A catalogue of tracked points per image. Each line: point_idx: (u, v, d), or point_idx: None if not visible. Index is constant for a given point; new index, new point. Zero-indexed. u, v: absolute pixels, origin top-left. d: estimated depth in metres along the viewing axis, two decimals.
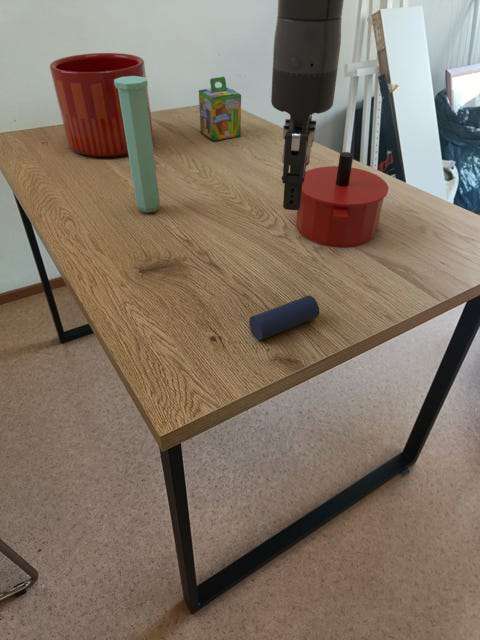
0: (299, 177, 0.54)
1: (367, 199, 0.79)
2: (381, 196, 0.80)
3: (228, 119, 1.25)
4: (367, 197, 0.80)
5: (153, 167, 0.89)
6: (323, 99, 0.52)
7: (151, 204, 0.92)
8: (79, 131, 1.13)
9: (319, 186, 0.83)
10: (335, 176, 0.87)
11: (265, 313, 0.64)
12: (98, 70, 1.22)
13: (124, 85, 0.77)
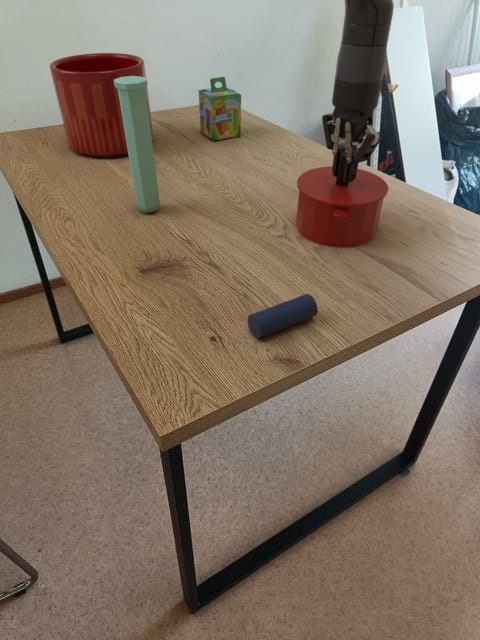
0: (367, 155, 0.78)
1: (367, 199, 0.79)
2: (381, 196, 0.80)
3: (228, 119, 1.25)
4: (367, 197, 0.80)
5: (153, 167, 0.89)
6: (378, 97, 0.74)
7: (151, 204, 0.92)
8: (79, 131, 1.13)
9: (319, 186, 0.83)
10: None
11: (262, 311, 0.65)
12: (98, 70, 1.22)
13: (124, 85, 0.77)
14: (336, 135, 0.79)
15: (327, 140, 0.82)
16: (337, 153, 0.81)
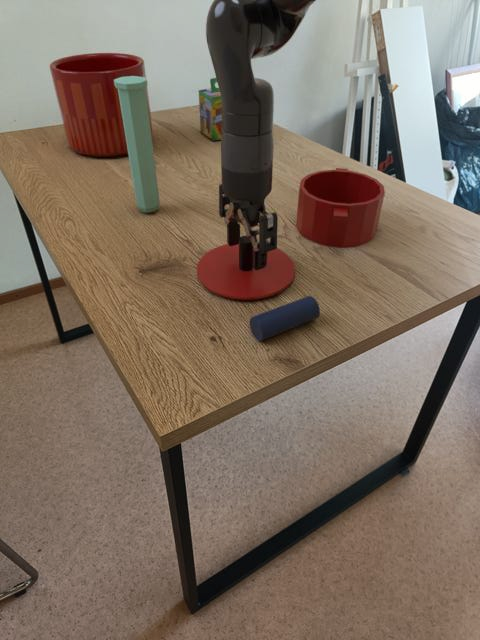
0: (274, 245, 0.68)
1: (267, 290, 0.72)
2: (283, 285, 0.73)
3: None
4: (267, 287, 0.73)
5: (153, 167, 0.89)
6: (271, 183, 0.66)
7: (151, 204, 0.92)
8: (79, 131, 1.13)
9: (219, 271, 0.76)
10: None
11: (266, 314, 0.64)
12: (98, 70, 1.22)
13: (124, 85, 0.77)
14: (229, 213, 0.72)
15: (220, 208, 0.76)
16: (228, 223, 0.75)
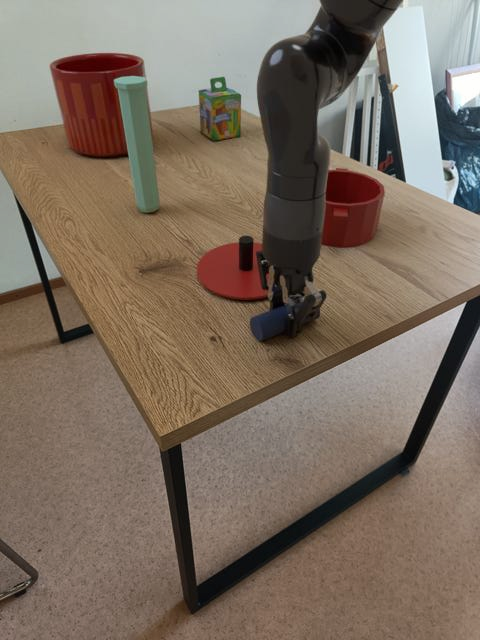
0: (312, 314, 0.61)
1: None
2: None
3: (228, 119, 1.25)
4: None
5: (153, 167, 0.89)
6: (320, 248, 0.57)
7: (151, 204, 0.92)
8: (79, 131, 1.13)
9: (219, 271, 0.76)
10: None
11: (266, 314, 0.64)
12: (98, 70, 1.22)
13: (124, 85, 0.77)
14: (270, 282, 0.63)
15: (261, 280, 0.66)
16: (273, 298, 0.65)
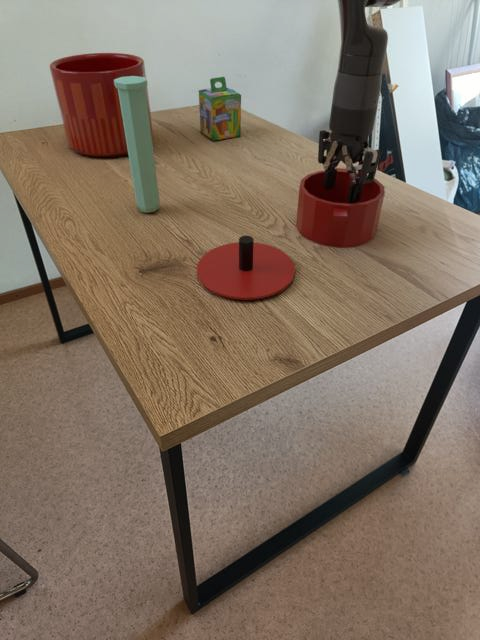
0: (372, 178, 0.78)
1: (267, 290, 0.72)
2: (283, 285, 0.73)
3: (228, 119, 1.25)
4: (267, 287, 0.73)
5: (153, 167, 0.89)
6: (374, 122, 0.76)
7: (151, 204, 0.92)
8: (79, 131, 1.13)
9: (219, 271, 0.76)
10: None
11: None
12: (98, 70, 1.22)
13: (124, 85, 0.77)
14: (330, 154, 0.82)
15: (319, 154, 0.85)
16: (328, 167, 0.85)
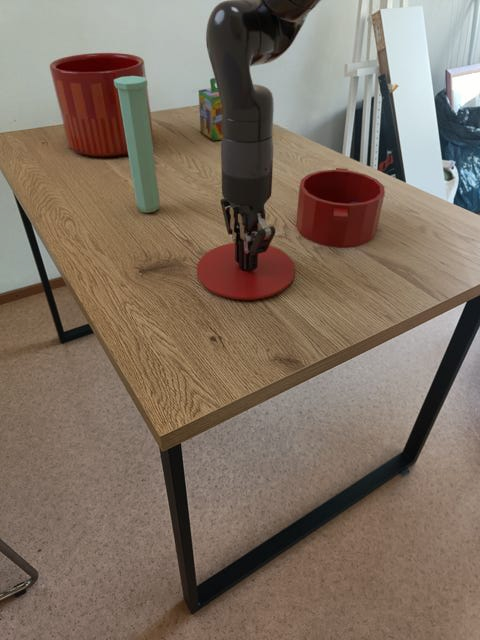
0: (264, 247, 0.71)
1: (267, 290, 0.72)
2: (283, 285, 0.73)
3: None
4: (267, 287, 0.73)
5: (153, 167, 0.89)
6: (270, 189, 0.67)
7: (151, 204, 0.92)
8: (79, 131, 1.13)
9: (219, 271, 0.76)
10: None
11: None
12: (98, 70, 1.22)
13: (124, 85, 0.77)
14: (232, 223, 0.72)
15: (227, 225, 0.76)
16: (237, 240, 0.75)
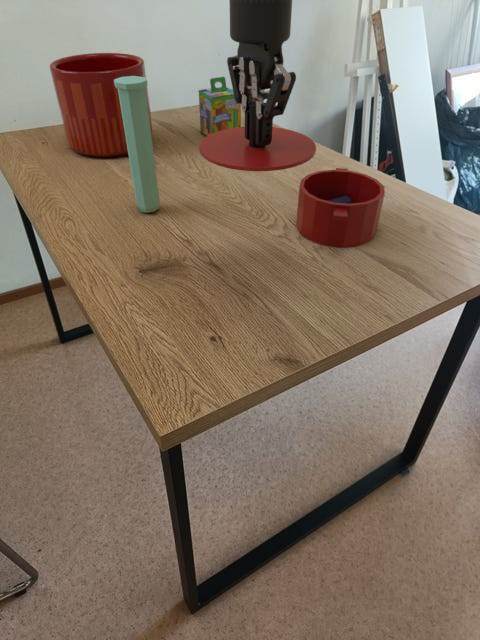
0: (281, 107, 0.59)
1: (284, 162, 0.60)
2: (303, 158, 0.61)
3: (228, 119, 1.25)
4: (285, 159, 0.61)
5: (153, 167, 0.89)
6: (290, 25, 0.55)
7: (151, 204, 0.92)
8: (79, 131, 1.13)
9: (226, 148, 0.64)
10: None
11: None
12: (98, 70, 1.22)
13: (124, 85, 0.77)
14: (242, 82, 0.60)
15: (235, 91, 0.63)
16: (247, 107, 0.62)
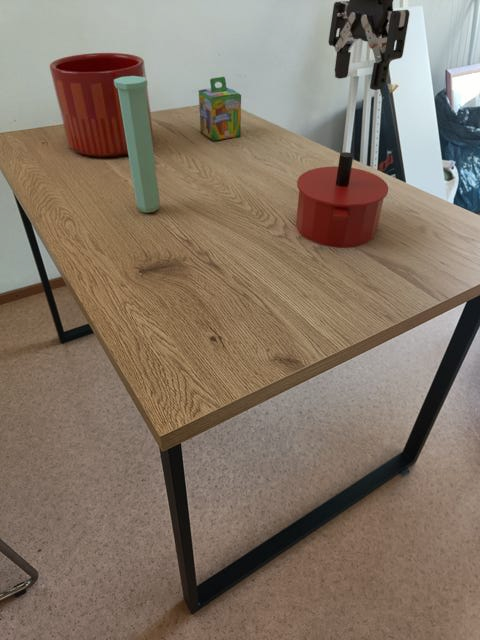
0: (401, 51, 0.65)
1: (367, 199, 0.79)
2: (381, 196, 0.80)
3: (228, 119, 1.25)
4: (367, 197, 0.80)
5: (153, 167, 0.89)
6: None
7: (151, 204, 0.92)
8: (79, 131, 1.13)
9: (319, 186, 0.83)
10: (335, 176, 0.87)
11: None
12: (98, 70, 1.22)
13: (124, 85, 0.77)
14: (345, 31, 0.70)
15: (331, 34, 0.73)
16: (340, 48, 0.73)
